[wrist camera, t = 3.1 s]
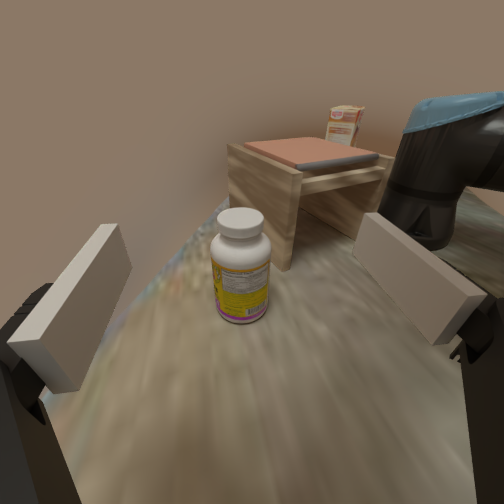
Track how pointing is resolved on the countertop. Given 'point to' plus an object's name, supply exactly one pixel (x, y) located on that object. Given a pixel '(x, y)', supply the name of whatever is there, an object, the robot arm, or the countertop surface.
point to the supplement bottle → (241, 265)
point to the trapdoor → (310, 153)
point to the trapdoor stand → (304, 195)
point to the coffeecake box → (344, 124)
